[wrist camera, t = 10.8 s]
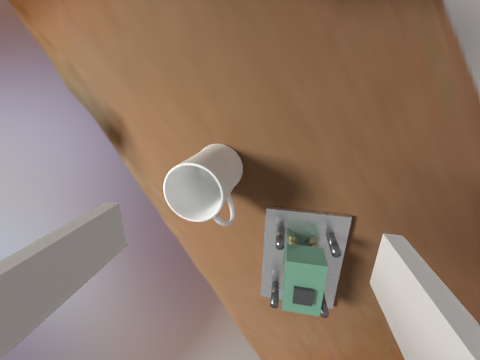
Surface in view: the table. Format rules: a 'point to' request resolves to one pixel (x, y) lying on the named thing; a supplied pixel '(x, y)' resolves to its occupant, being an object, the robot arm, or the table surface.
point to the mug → (204, 184)
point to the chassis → (307, 234)
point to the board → (304, 279)
